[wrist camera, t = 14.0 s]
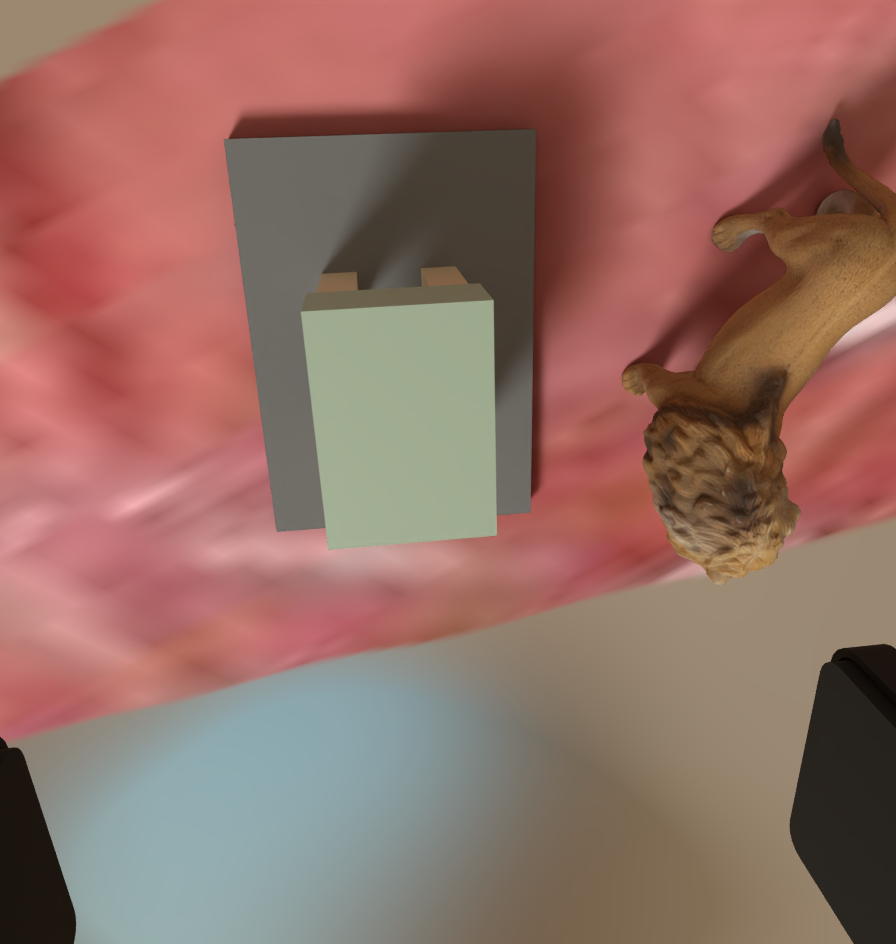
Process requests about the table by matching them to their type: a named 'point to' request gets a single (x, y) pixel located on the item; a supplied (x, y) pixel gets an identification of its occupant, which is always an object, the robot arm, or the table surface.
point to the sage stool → (403, 408)
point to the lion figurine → (763, 373)
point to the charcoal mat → (382, 270)
